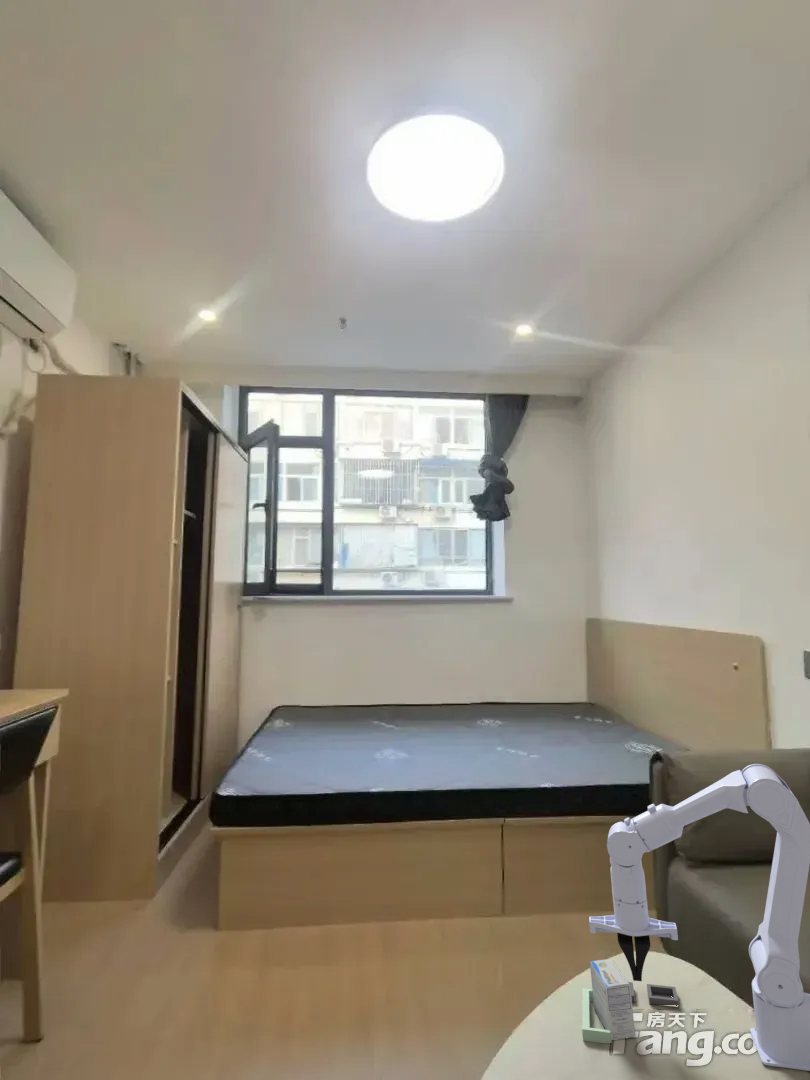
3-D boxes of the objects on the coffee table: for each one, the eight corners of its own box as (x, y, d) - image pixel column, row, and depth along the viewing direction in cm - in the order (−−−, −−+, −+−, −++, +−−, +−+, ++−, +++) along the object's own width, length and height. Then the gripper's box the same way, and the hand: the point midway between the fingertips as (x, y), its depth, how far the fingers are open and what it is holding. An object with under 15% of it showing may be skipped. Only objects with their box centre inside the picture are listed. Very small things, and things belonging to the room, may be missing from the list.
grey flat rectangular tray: (675, 993, 115) (675, 986, 115) (679, 1007, 111) (678, 1000, 111) (647, 990, 116) (646, 983, 116) (649, 1004, 112) (648, 997, 113)
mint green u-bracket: (608, 1001, 114) (608, 990, 114) (611, 1044, 103) (610, 1032, 103) (583, 998, 115) (582, 987, 115) (583, 1040, 104) (582, 1029, 105)
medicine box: (636, 1038, 104) (631, 984, 105) (610, 1041, 104) (605, 987, 105) (617, 1008, 112) (612, 957, 113) (593, 1010, 112) (589, 960, 113)
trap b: (633, 989, 117) (632, 982, 117) (635, 1002, 113) (634, 995, 113) (605, 986, 118) (605, 979, 118) (606, 999, 114) (605, 992, 115)
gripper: (670, 888, 111) (678, 968, 110) (586, 883, 115) (593, 960, 114) (676, 907, 104) (684, 993, 103) (587, 901, 108) (594, 983, 107)
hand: (637, 977), depth 108 cm, fingers closed
